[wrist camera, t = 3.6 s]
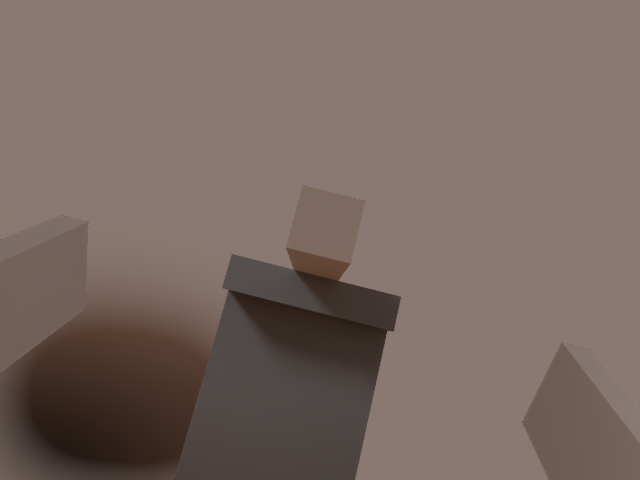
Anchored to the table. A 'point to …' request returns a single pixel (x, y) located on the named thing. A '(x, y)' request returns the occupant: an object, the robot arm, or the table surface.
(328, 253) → the beige teal square bar
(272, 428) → the shelf stand
